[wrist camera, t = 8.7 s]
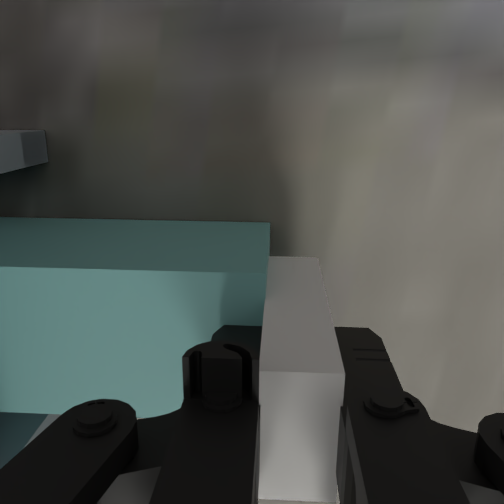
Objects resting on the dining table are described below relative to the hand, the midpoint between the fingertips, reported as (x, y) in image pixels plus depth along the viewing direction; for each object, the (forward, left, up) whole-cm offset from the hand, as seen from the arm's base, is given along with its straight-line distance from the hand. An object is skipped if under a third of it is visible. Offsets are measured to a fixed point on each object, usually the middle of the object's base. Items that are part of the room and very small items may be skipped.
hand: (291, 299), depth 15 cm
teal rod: (+10, 0, -2) cm, 10 cm away
